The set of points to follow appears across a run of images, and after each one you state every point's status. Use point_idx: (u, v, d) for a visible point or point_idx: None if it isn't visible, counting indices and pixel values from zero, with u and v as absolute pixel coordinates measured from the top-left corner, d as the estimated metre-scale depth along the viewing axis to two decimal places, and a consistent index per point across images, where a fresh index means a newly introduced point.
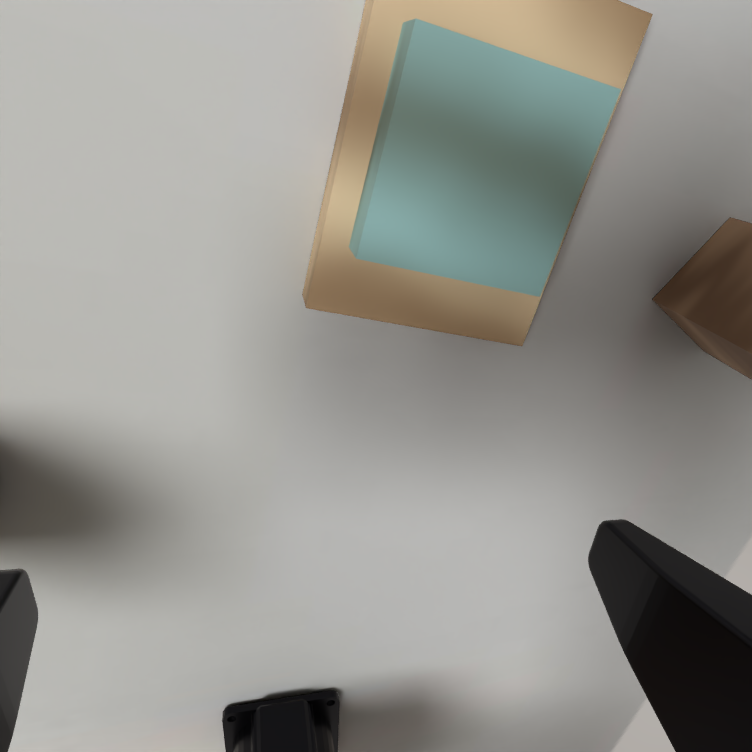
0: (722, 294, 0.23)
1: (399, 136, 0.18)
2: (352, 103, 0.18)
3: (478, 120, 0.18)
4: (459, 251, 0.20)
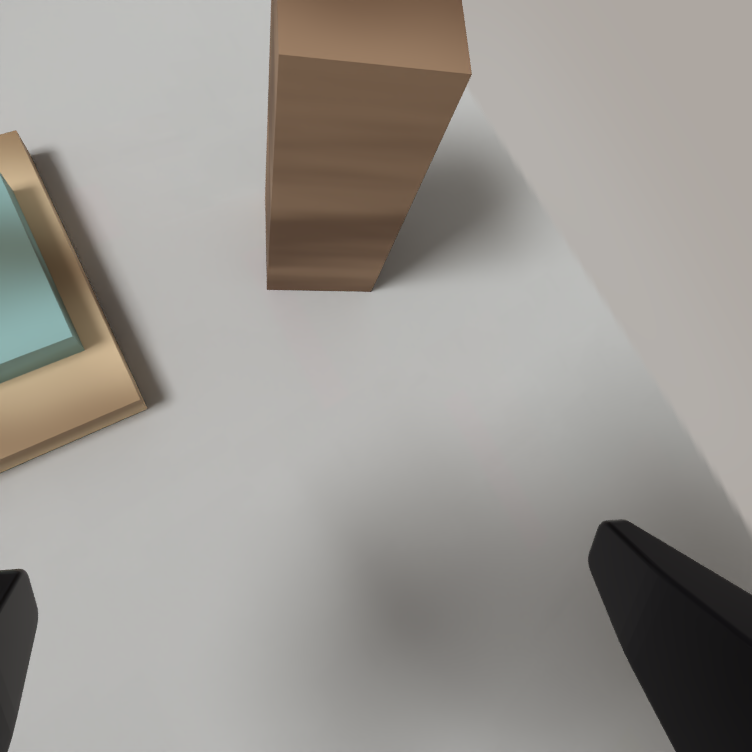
0: None
1: None
2: None
3: None
4: None
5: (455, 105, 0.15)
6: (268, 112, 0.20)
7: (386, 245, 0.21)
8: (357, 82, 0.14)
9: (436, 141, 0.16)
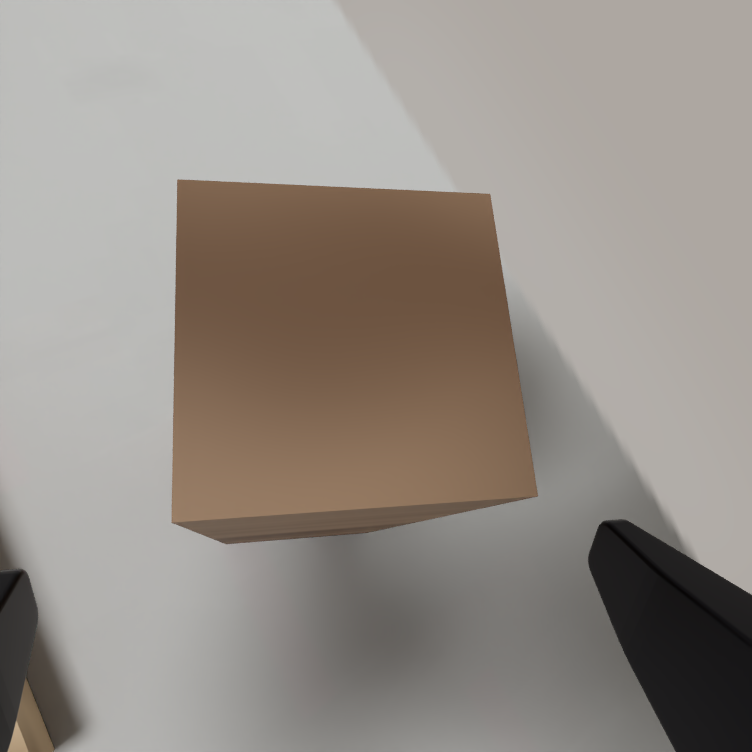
0: None
1: None
2: None
3: None
4: None
5: (502, 503, 0.08)
6: None
7: (385, 527, 0.15)
8: (328, 514, 0.07)
9: (465, 510, 0.10)
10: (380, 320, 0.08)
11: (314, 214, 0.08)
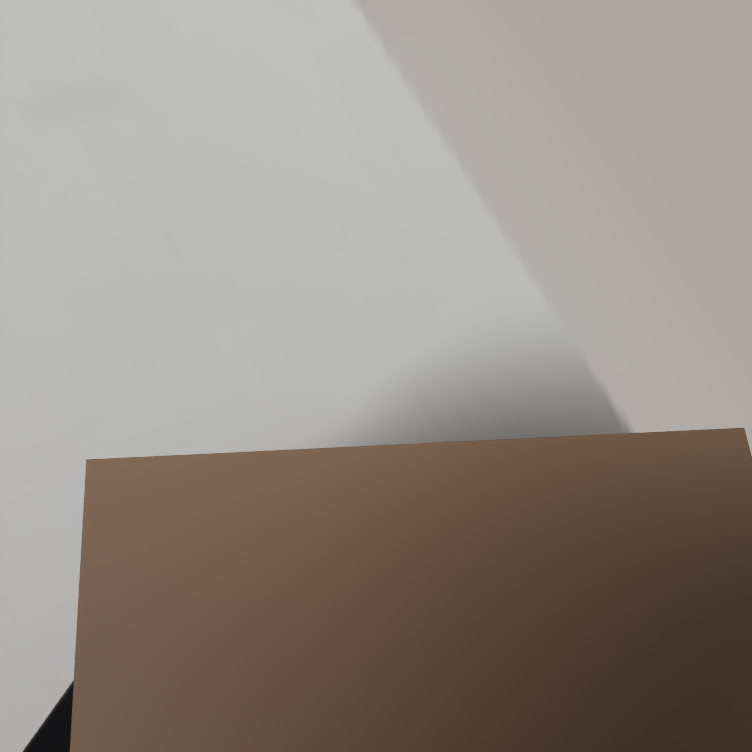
0: None
1: None
2: None
3: None
4: None
5: None
6: None
7: None
8: None
9: None
10: None
11: (400, 517, 0.04)
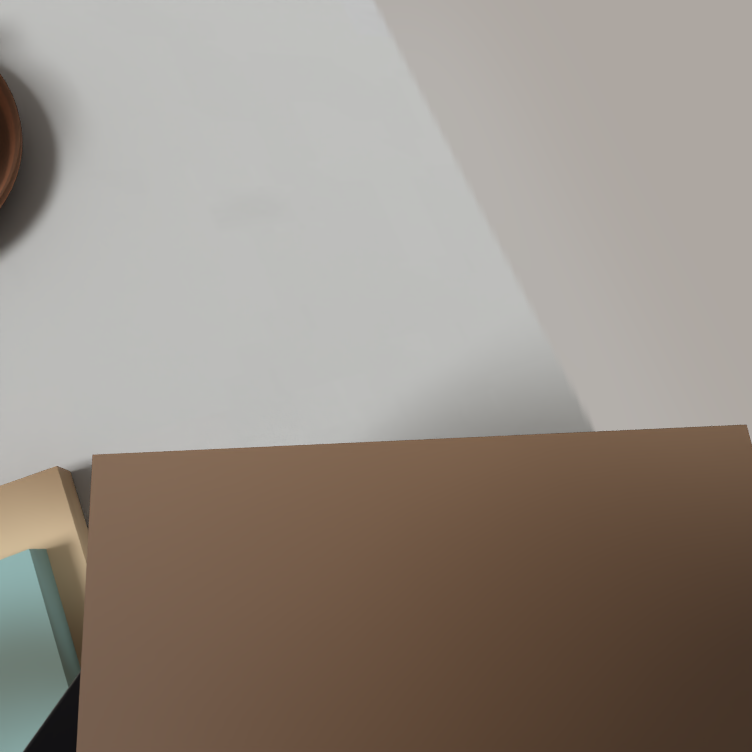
0: None
1: None
2: None
3: None
4: None
5: None
6: None
7: None
8: None
9: None
10: None
11: (403, 513, 0.04)
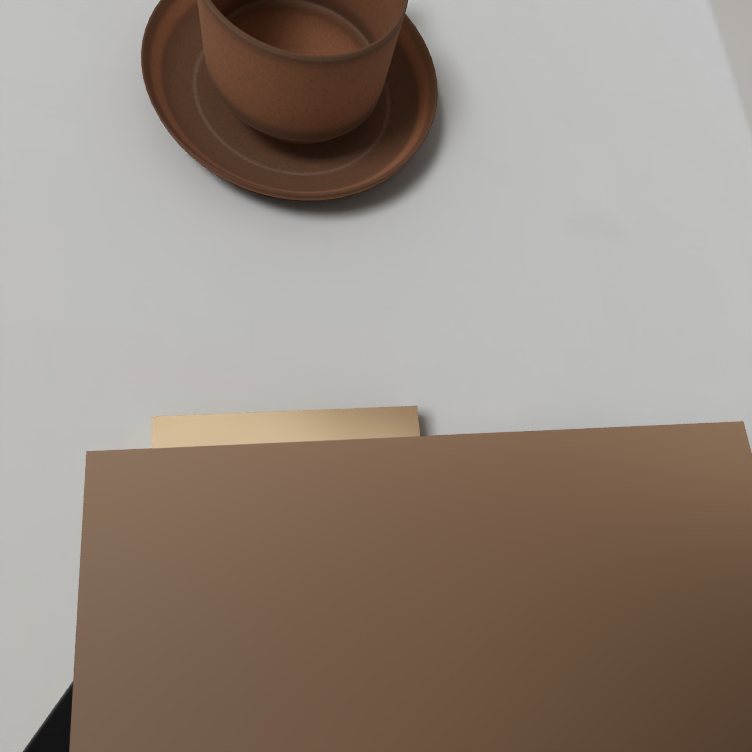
0: None
1: None
2: None
3: None
4: None
5: None
6: None
7: None
8: None
9: None
10: None
11: (400, 510, 0.04)
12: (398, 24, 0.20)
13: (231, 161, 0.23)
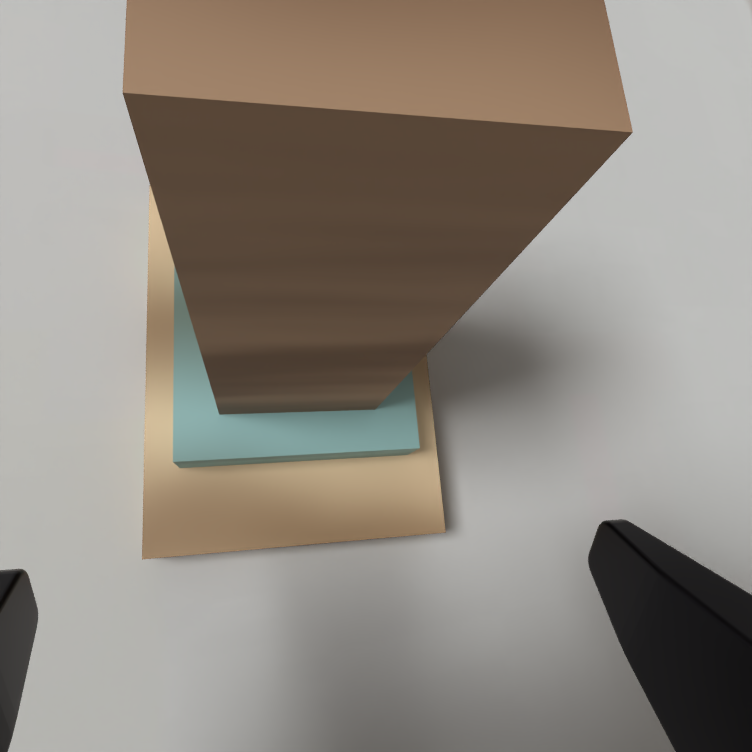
0: None
1: (187, 325, 0.17)
2: (147, 326, 0.18)
3: None
4: (297, 421, 0.17)
5: (571, 193, 0.06)
6: None
7: (400, 371, 0.13)
8: (346, 155, 0.05)
9: (512, 252, 0.08)
10: None
11: None
12: None
13: None
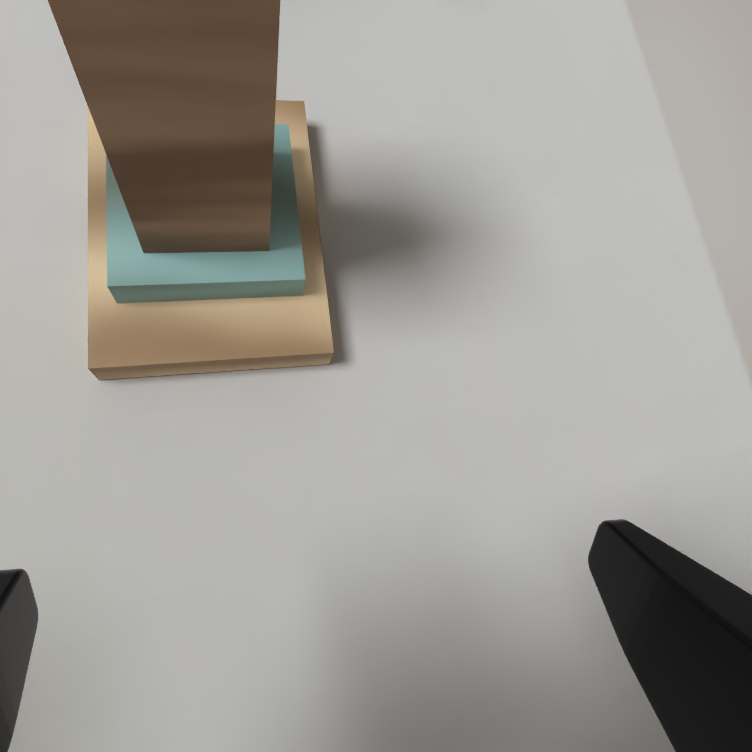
0: None
1: (117, 189, 0.22)
2: (88, 199, 0.23)
3: None
4: (206, 259, 0.21)
5: None
6: None
7: (264, 186, 0.18)
8: None
9: (273, 25, 0.13)
10: None
11: None
12: None
13: None
